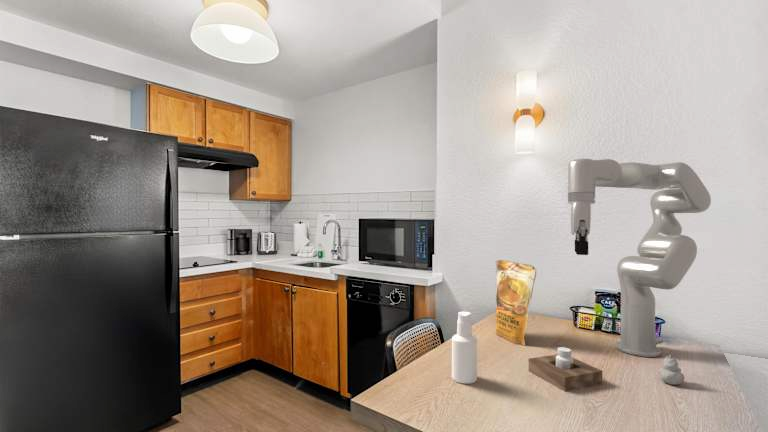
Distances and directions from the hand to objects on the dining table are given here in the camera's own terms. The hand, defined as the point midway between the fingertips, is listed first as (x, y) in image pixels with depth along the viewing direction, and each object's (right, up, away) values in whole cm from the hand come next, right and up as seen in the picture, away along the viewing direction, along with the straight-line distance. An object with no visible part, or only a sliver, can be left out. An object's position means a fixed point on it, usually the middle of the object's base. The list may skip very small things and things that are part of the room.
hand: (581, 253), depth 113 cm
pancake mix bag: (-15, -34, +20) cm, 42 cm away
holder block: (-12, -33, -13) cm, 37 cm away
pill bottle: (-12, -33, -13) cm, 37 cm away
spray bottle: (-40, -33, -14) cm, 54 cm away
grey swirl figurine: (+16, -34, -16) cm, 40 cm away
